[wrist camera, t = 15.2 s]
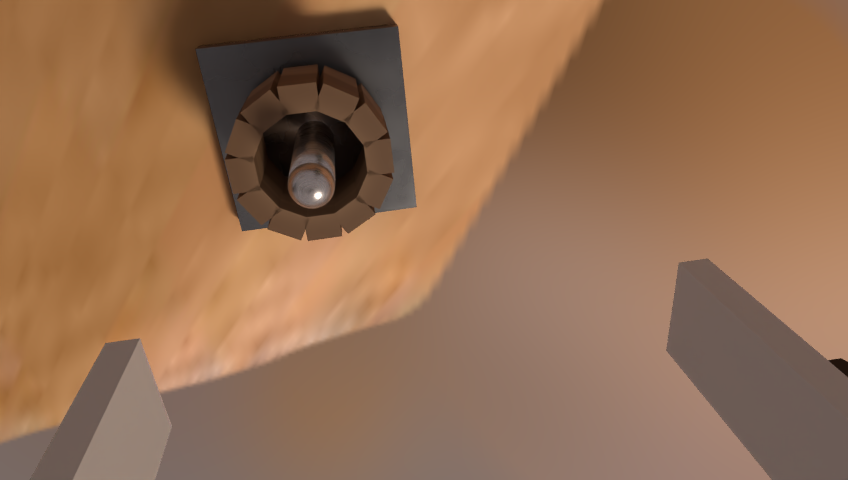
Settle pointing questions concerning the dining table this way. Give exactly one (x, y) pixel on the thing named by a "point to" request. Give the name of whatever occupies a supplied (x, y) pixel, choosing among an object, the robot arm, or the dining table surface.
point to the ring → (269, 187)
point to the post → (313, 131)
